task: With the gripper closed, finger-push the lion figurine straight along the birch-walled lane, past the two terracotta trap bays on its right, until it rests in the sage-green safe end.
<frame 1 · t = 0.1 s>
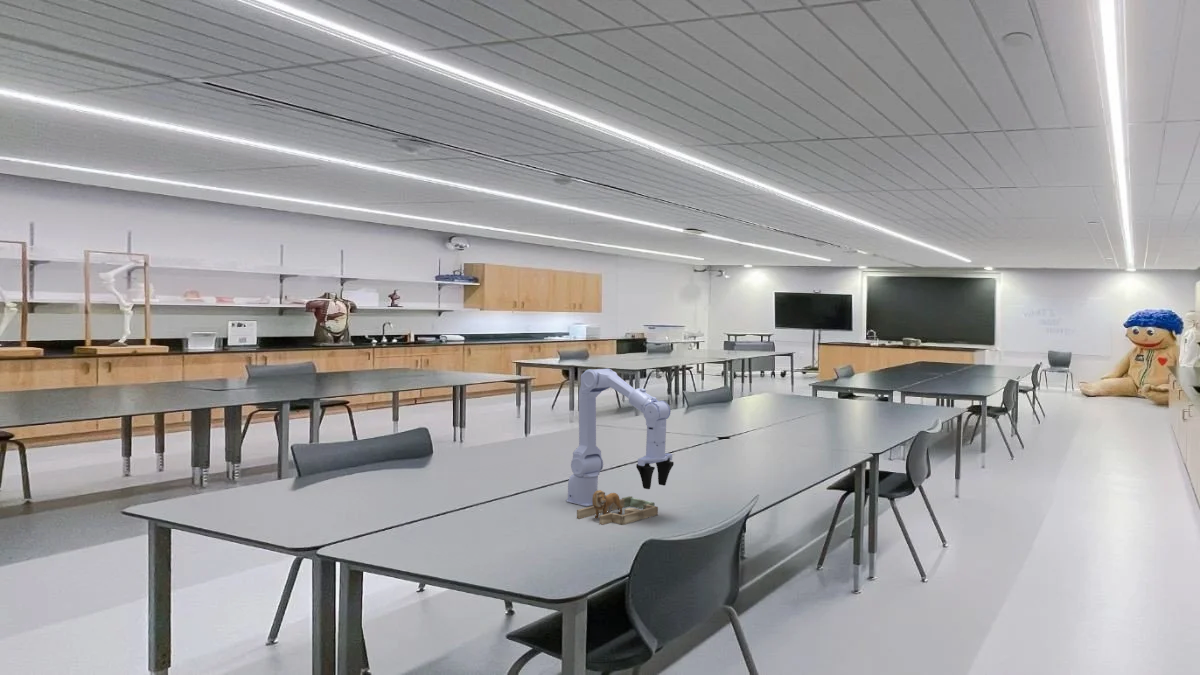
hand: (654, 486, 235), 10 cm above the table, fingers open, 7 cm apart
lion figurine: (607, 517, 238), resting in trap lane
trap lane: (616, 514, 241), on the table
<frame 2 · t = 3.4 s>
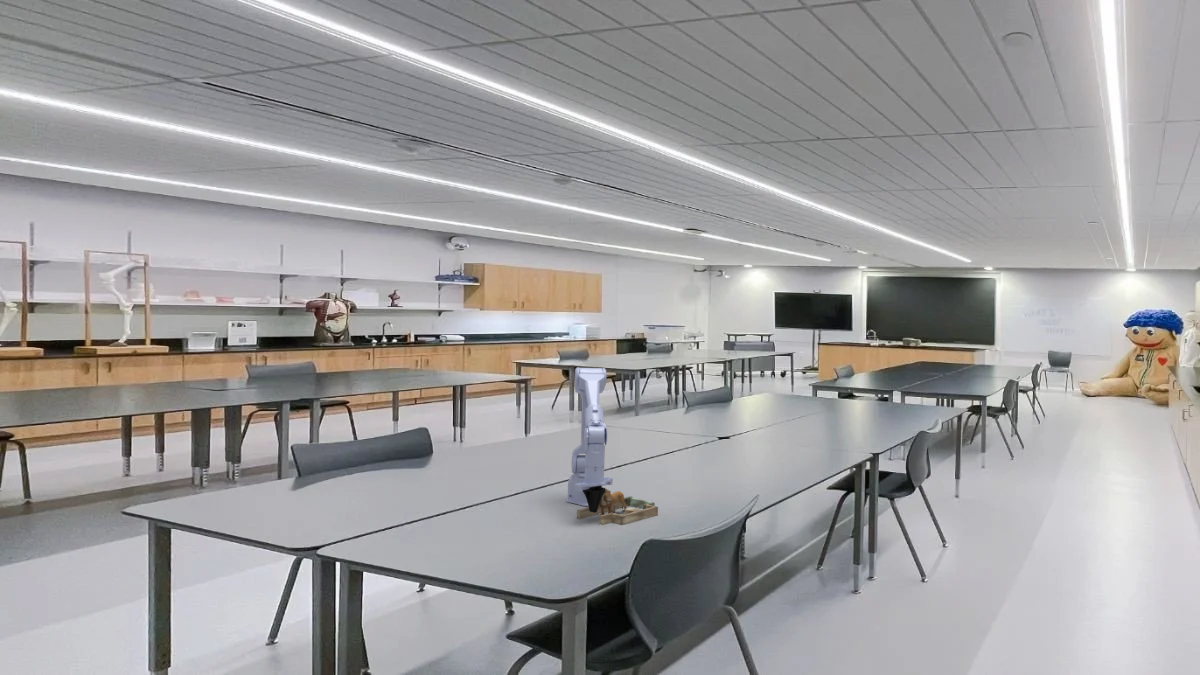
hand: (593, 511, 233), 3 cm above the table, fingers closed
lion figurine: (612, 516, 239), resting in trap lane, touching gripper
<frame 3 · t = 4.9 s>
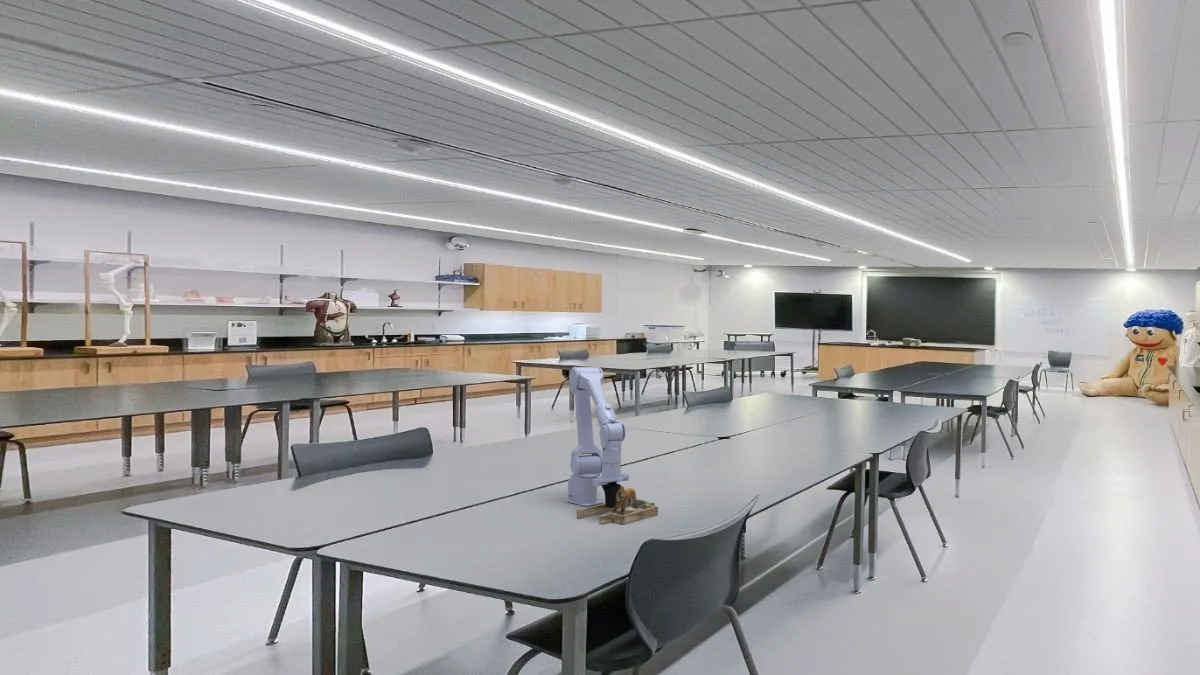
hand: (610, 507, 238), 3 cm above the table, fingers closed
lion figurine: (624, 512, 244), resting in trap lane, touching gripper
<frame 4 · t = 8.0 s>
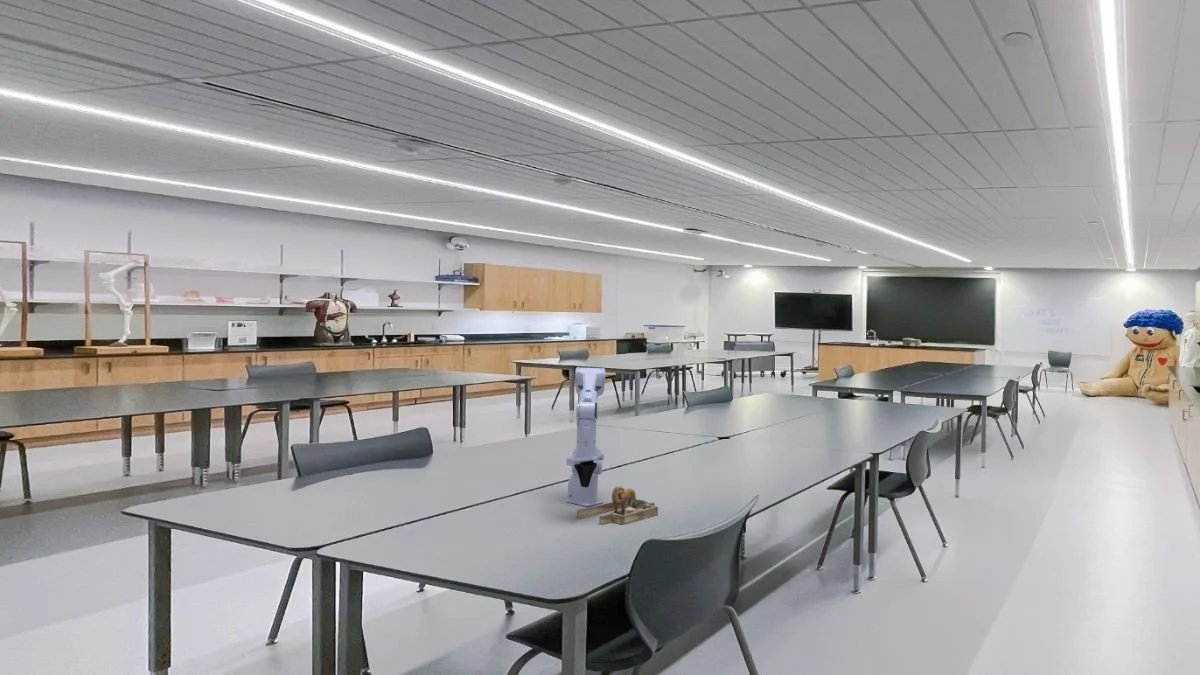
hand: (584, 486, 235), 9 cm above the table, fingers closed
lion figurine: (624, 512, 244), resting in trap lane
at the end: lion figurine inside the target area (1.1 cm from its centre), resting in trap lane; lion figurine tilted 0°; lion figurine moved 8.6 cm from its start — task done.
